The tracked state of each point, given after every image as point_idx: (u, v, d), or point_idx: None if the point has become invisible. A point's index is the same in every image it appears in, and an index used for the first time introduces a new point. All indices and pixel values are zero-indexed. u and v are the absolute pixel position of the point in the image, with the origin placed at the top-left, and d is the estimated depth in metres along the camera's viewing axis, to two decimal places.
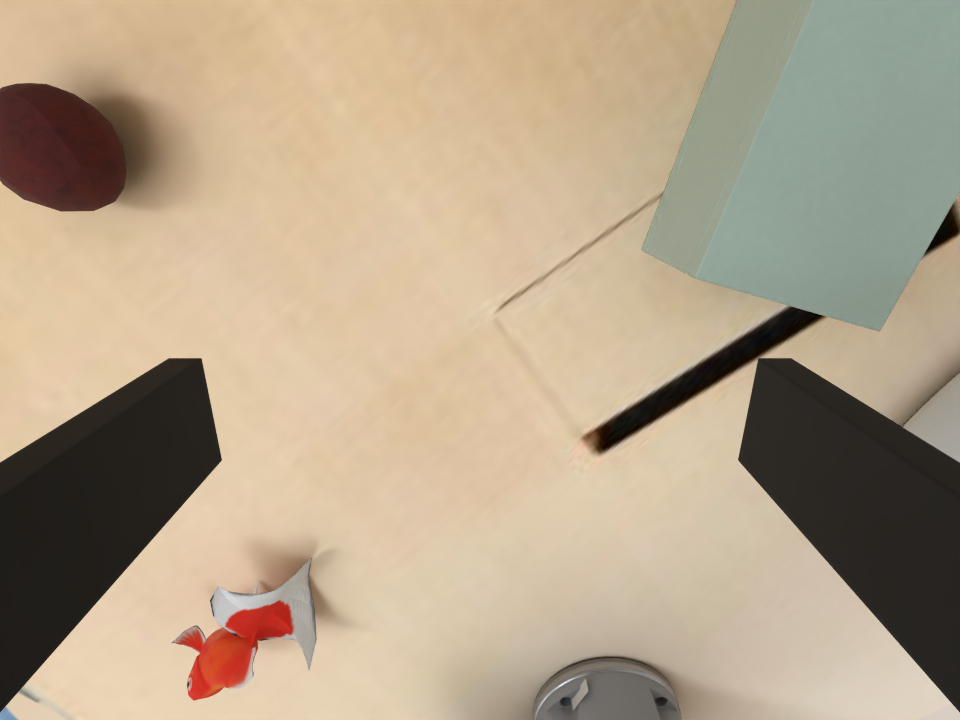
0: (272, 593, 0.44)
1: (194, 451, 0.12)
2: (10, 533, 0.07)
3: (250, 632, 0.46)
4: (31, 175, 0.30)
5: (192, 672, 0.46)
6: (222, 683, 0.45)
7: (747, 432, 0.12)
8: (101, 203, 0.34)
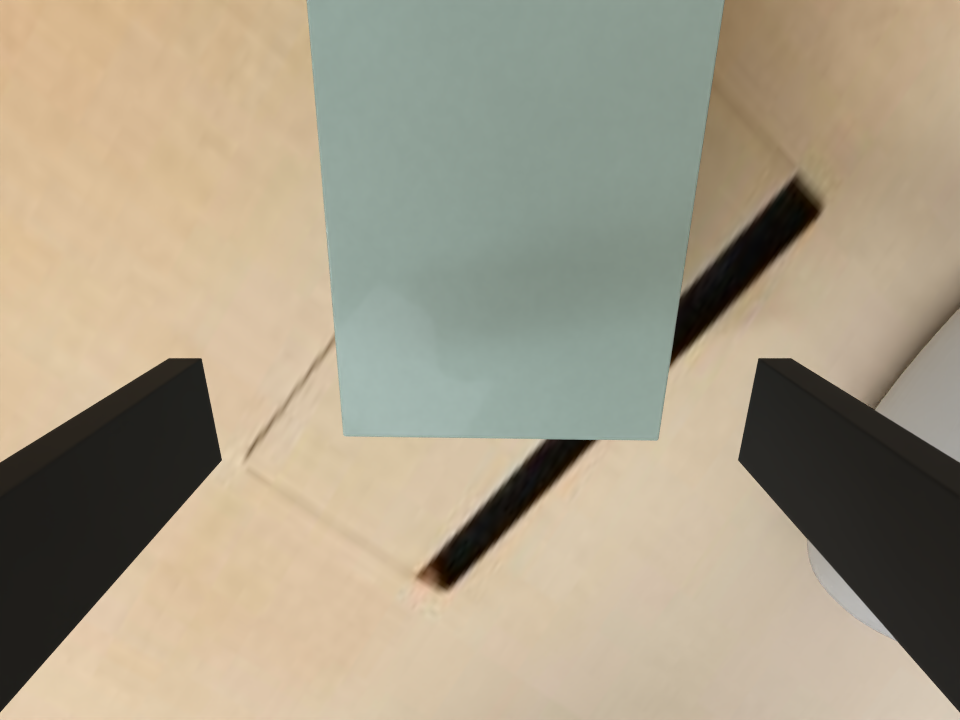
0: None
1: (194, 451, 0.12)
2: (9, 533, 0.07)
3: None
4: None
5: None
6: None
7: (746, 432, 0.12)
8: None
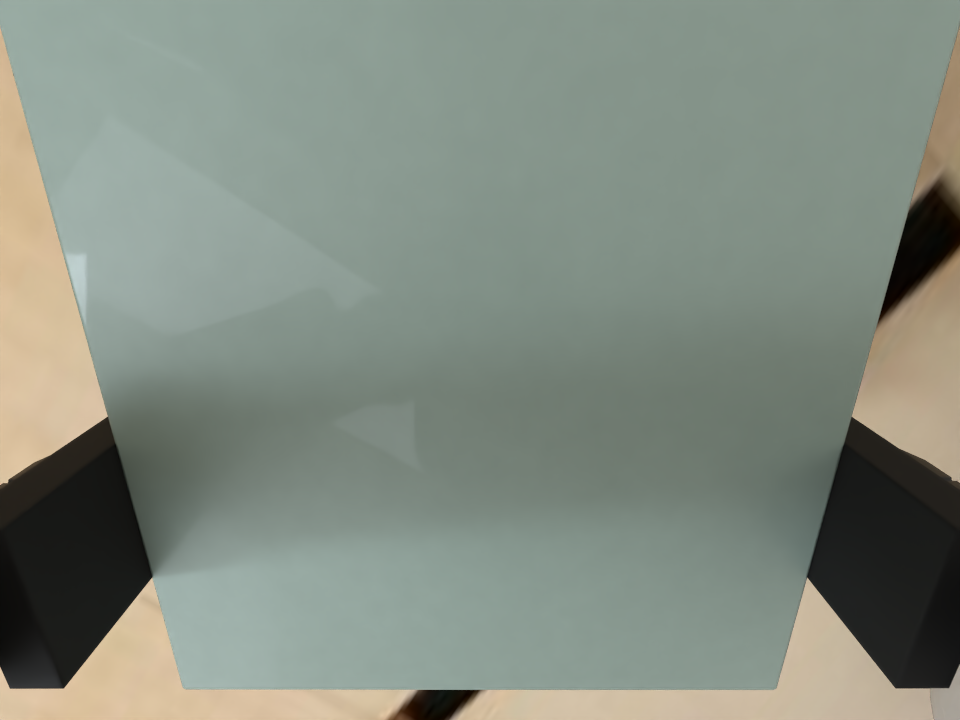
0: None
1: None
2: (78, 511, 0.08)
3: None
4: None
5: None
6: None
7: None
8: None
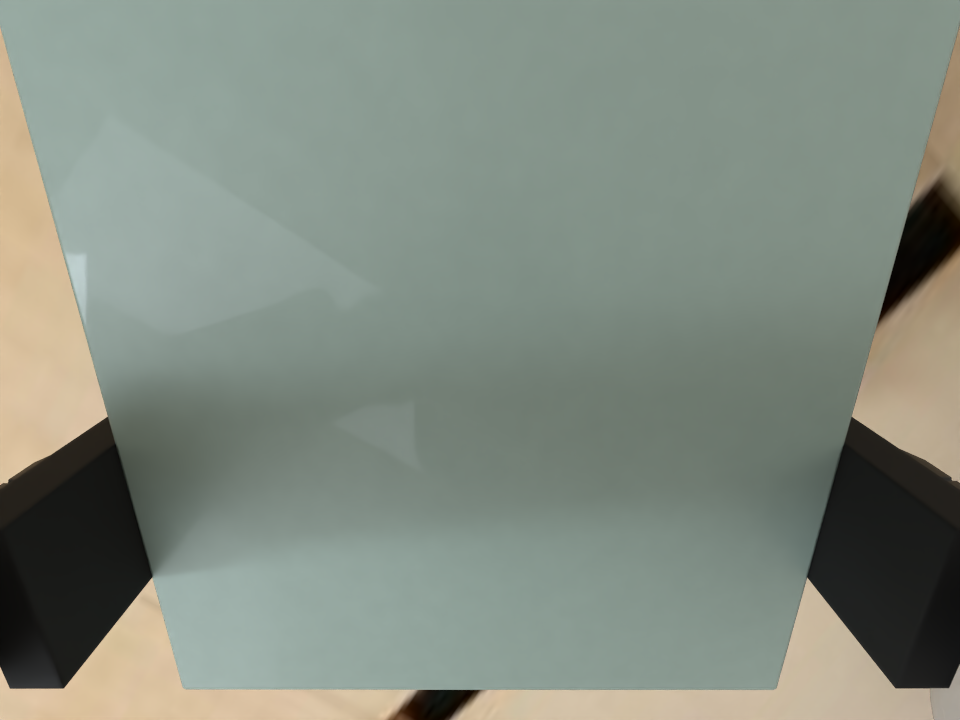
0: None
1: None
2: (78, 512, 0.08)
3: None
4: None
5: None
6: None
7: None
8: None
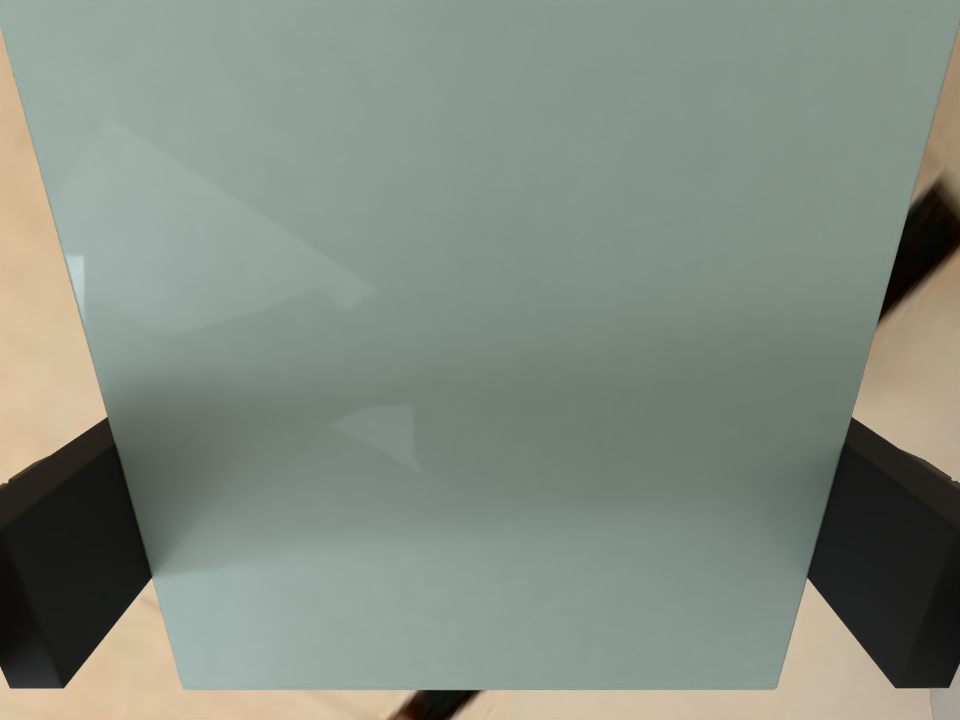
0: None
1: None
2: (78, 511, 0.08)
3: None
4: None
5: None
6: None
7: None
8: None
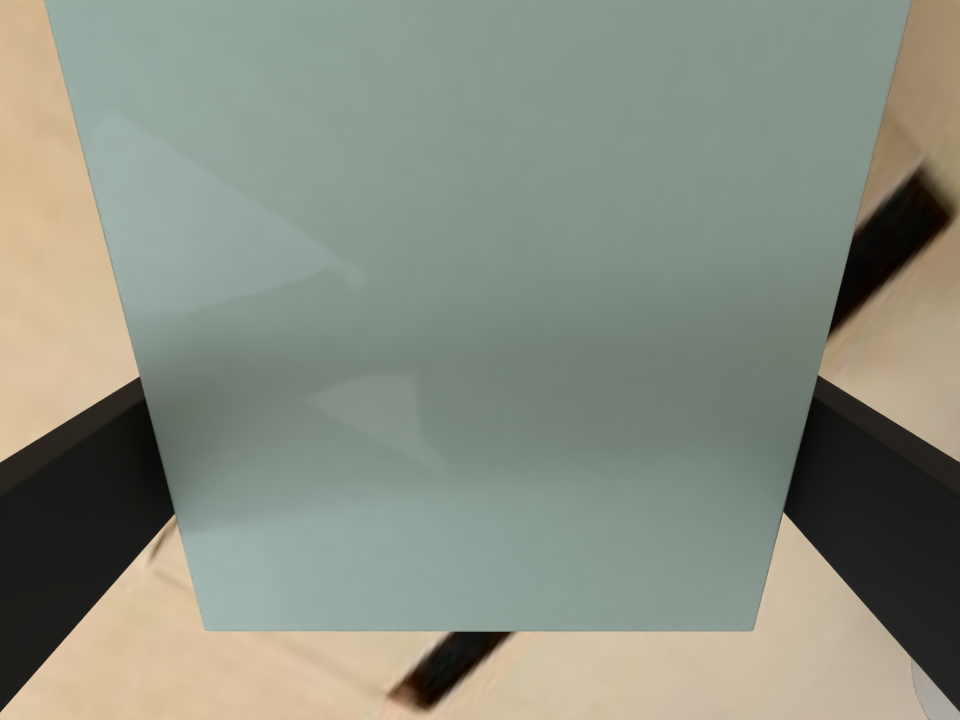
0: None
1: None
2: (10, 533, 0.07)
3: None
4: None
5: None
6: None
7: None
8: None
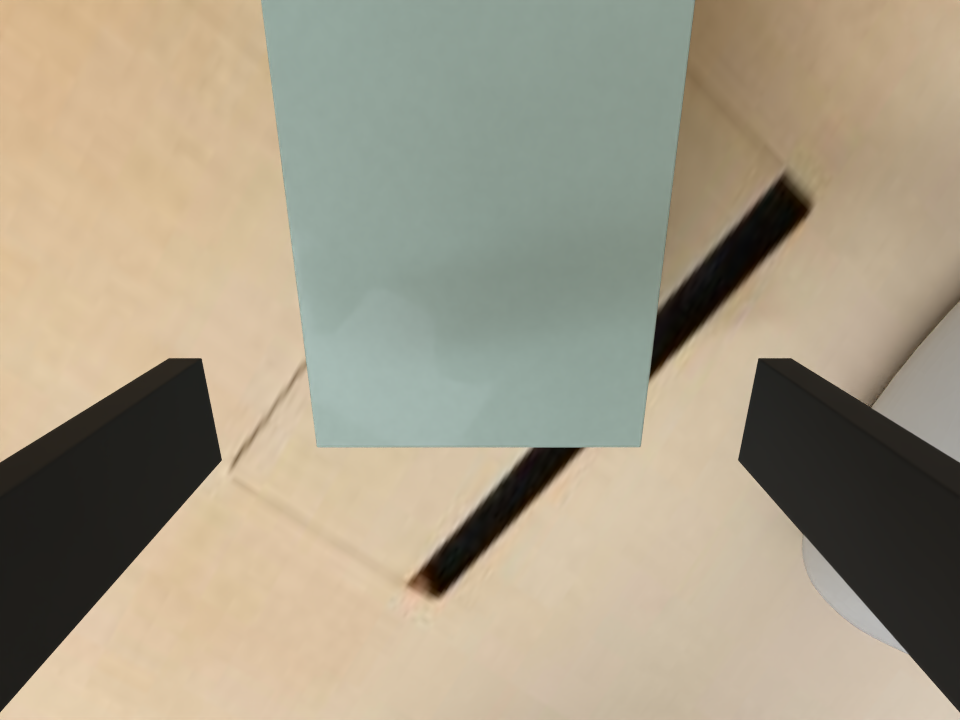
0: None
1: (194, 451, 0.12)
2: (10, 533, 0.07)
3: None
4: None
5: None
6: None
7: (747, 432, 0.12)
8: None
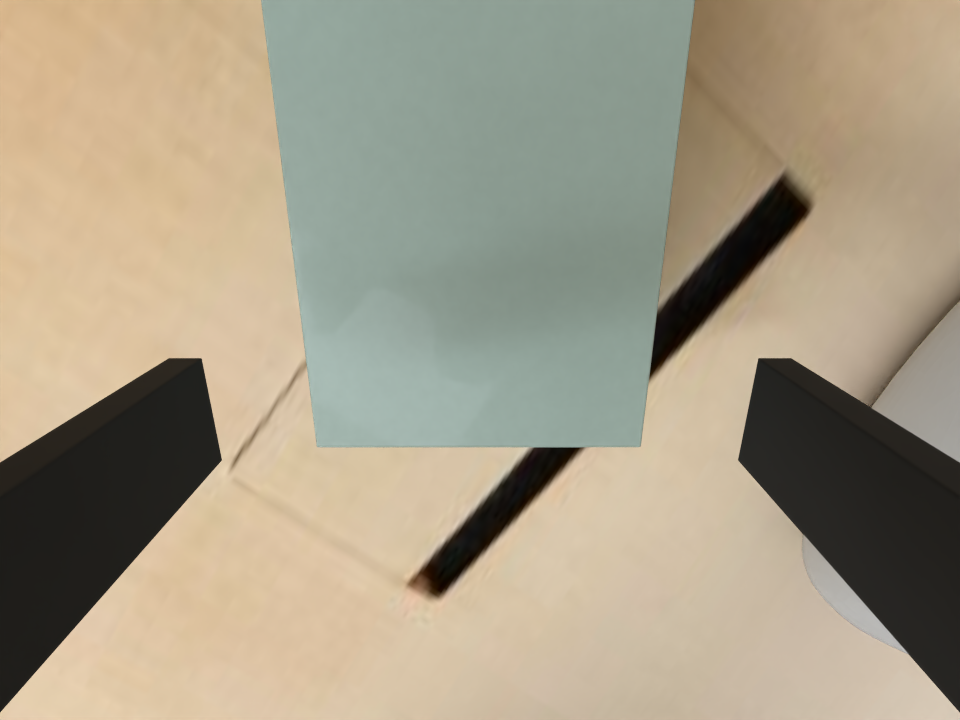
0: None
1: (194, 451, 0.12)
2: (10, 533, 0.07)
3: None
4: None
5: None
6: None
7: (747, 432, 0.12)
8: None
